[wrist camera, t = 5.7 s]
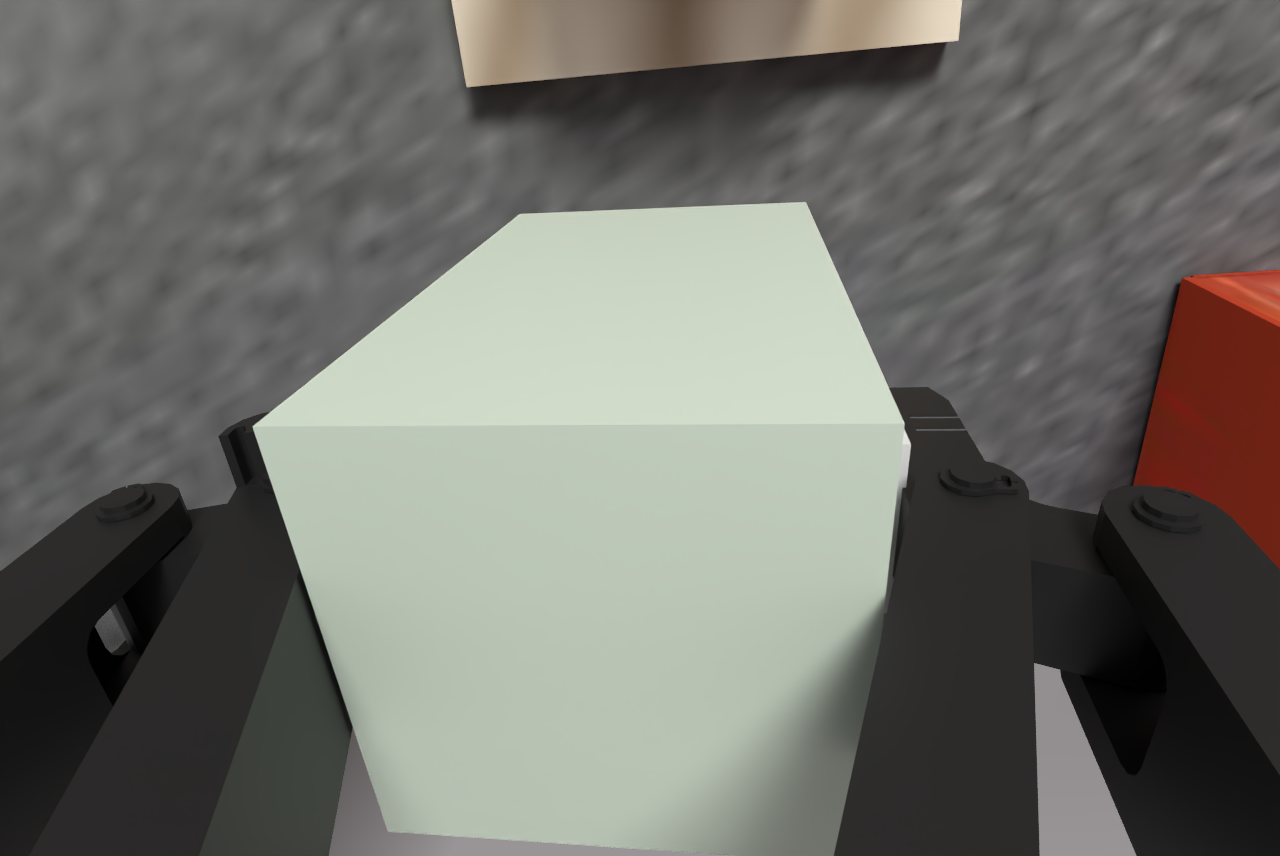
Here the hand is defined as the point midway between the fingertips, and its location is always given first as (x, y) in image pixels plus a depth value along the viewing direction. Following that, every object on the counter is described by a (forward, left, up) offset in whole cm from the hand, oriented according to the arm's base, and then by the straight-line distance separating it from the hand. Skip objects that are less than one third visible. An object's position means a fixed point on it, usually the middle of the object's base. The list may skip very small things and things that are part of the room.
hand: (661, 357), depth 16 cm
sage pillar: (0, 0, -1) cm, 1 cm away
